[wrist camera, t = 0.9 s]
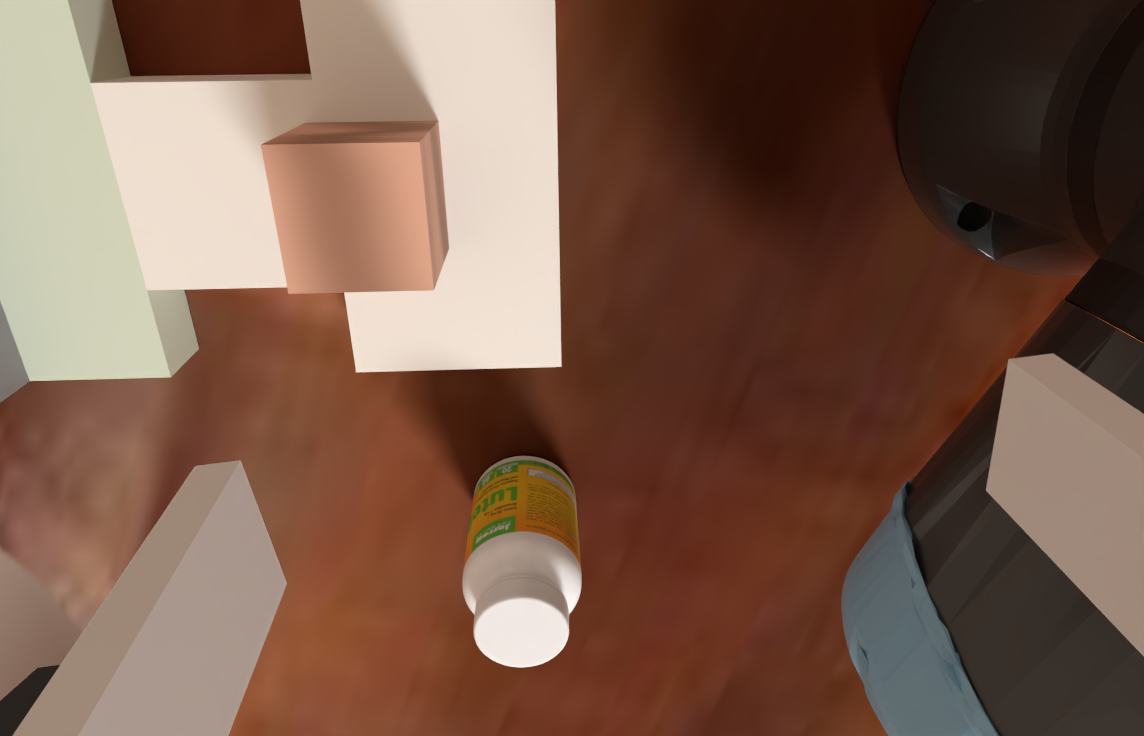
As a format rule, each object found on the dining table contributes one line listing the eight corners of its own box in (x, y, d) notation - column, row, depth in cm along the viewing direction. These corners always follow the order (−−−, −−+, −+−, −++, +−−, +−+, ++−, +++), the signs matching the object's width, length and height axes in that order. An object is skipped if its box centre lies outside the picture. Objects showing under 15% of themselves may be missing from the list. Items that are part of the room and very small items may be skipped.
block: (438, 120, 28) (419, 142, 24) (449, 248, 30) (433, 290, 26) (305, 122, 28) (260, 144, 24) (325, 251, 30) (288, 293, 26)
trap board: (552, -42, 29) (555, -51, 24) (559, 339, 36) (563, 393, 31) (-89, -36, 28) (-224, -45, 23) (46, 352, 35) (-35, 409, 30)
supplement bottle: (512, 434, 38) (505, 562, 29) (595, 485, 39) (612, 621, 31) (453, 505, 40) (430, 645, 31) (535, 551, 41) (535, 698, 32)
